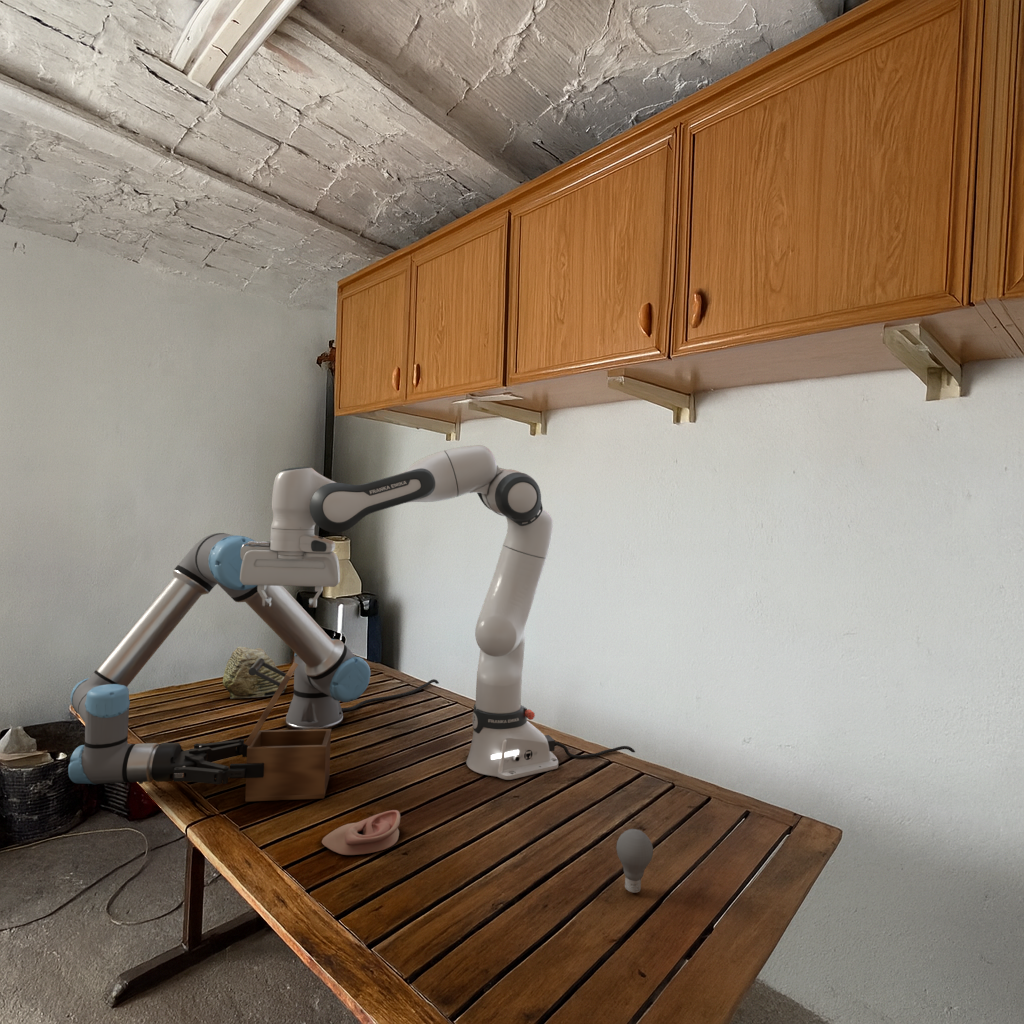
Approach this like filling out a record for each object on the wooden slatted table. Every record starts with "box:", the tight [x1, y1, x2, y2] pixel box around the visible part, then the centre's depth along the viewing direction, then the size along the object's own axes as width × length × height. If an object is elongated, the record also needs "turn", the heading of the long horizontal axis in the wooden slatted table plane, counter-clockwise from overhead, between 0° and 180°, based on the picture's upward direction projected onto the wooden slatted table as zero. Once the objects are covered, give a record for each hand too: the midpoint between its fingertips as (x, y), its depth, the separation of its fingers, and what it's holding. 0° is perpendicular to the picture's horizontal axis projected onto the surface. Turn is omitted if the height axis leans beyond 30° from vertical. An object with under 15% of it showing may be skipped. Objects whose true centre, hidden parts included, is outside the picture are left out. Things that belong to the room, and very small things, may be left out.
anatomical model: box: [321, 809, 401, 856], centre depth 118 cm, size 13×4×12 cm
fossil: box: [222, 646, 288, 699], centre depth 198 cm, size 9×18×15 cm, turn 132°
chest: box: [244, 729, 332, 803], centre depth 136 cm, size 16×10×11 cm, turn 100°
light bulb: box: [615, 828, 654, 894], centre depth 106 cm, size 6×6×10 cm
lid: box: [244, 658, 298, 746], centre depth 135 cm, size 16×10×8 cm
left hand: (268, 759), depth 136 cm, fingers closed on chest, 10 cm apart
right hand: (289, 606), depth 136 cm, fingers open, 8 cm apart
